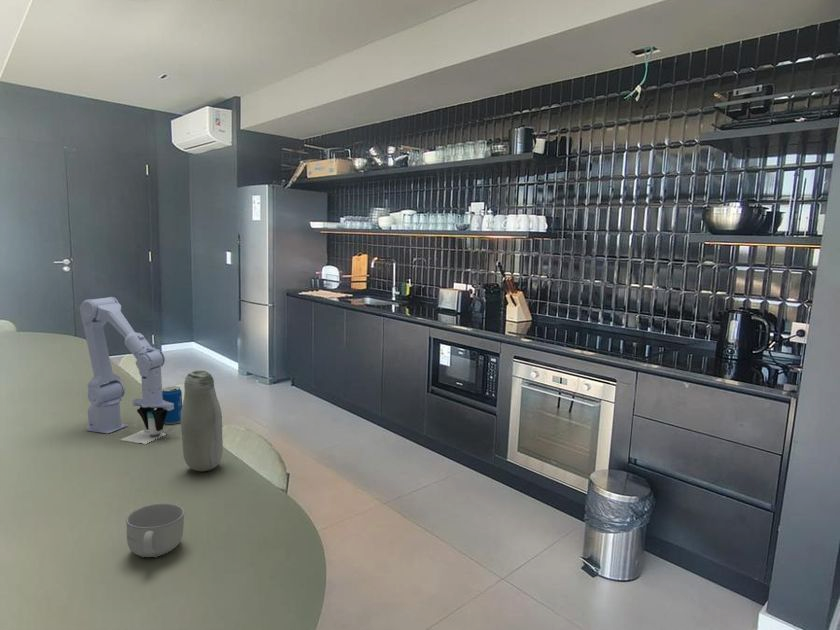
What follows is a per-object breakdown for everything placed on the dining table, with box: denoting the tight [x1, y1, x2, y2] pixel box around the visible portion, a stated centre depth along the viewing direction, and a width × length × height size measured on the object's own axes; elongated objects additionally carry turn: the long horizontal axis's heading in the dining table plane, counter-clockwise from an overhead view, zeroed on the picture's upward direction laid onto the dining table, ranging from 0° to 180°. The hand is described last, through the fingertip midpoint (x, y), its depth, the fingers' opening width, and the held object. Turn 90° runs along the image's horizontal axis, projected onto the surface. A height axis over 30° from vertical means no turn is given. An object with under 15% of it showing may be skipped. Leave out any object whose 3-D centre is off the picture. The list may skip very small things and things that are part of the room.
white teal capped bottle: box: [147, 409, 162, 437], centre depth 174 cm, size 4×4×8 cm
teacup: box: [125, 502, 185, 558], centre depth 110 cm, size 14×11×8 cm
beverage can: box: [162, 386, 183, 425], centre depth 188 cm, size 6×6×12 cm
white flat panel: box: [120, 429, 167, 445], centre depth 174 cm, size 10×9×1 cm
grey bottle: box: [180, 370, 224, 472], centre depth 149 cm, size 10×10×28 cm
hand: (154, 429), depth 174 cm, fingers closed on white teal capped bottle, 3 cm apart
